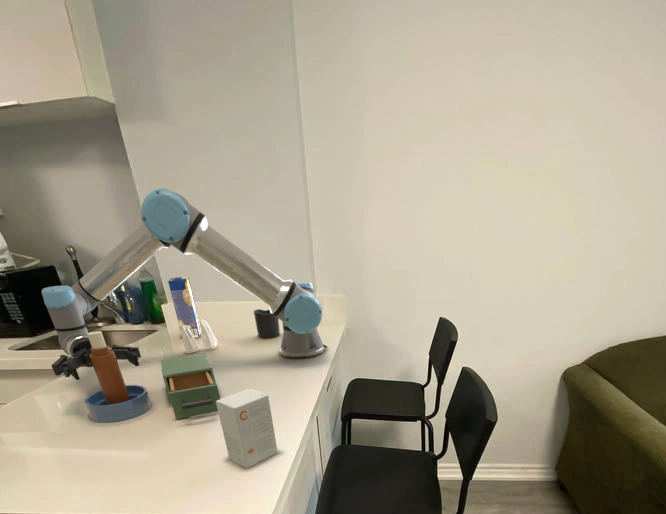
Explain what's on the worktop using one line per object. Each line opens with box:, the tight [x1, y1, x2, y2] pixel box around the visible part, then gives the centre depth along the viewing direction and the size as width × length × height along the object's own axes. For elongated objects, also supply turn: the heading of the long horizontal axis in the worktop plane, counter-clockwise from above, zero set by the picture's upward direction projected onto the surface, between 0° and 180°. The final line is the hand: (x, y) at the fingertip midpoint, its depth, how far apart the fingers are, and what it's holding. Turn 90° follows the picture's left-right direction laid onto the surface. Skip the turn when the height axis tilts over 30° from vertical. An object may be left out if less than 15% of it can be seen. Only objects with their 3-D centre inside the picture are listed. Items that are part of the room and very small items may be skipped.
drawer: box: [167, 371, 221, 420], centre depth 108 cm, size 18×11×7 cm, turn 24°
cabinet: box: [160, 352, 217, 404], centre depth 120 cm, size 15×12×8 cm
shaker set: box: [180, 318, 219, 354], centre depth 157 cm, size 12×4×11 cm, turn 111°
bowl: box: [84, 384, 152, 424], centre depth 110 cm, size 14×14×5 cm
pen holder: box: [253, 308, 281, 339], centre depth 173 cm, size 9×9×10 cm
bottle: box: [87, 330, 130, 405], centre depth 106 cm, size 5×5×20 cm
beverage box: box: [167, 276, 201, 340], centre depth 176 cm, size 7×11×22 cm, turn 15°
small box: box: [216, 388, 278, 469], centre depth 85 cm, size 8×6×13 cm
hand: (107, 367), depth 104 cm, fingers open, 13 cm apart
